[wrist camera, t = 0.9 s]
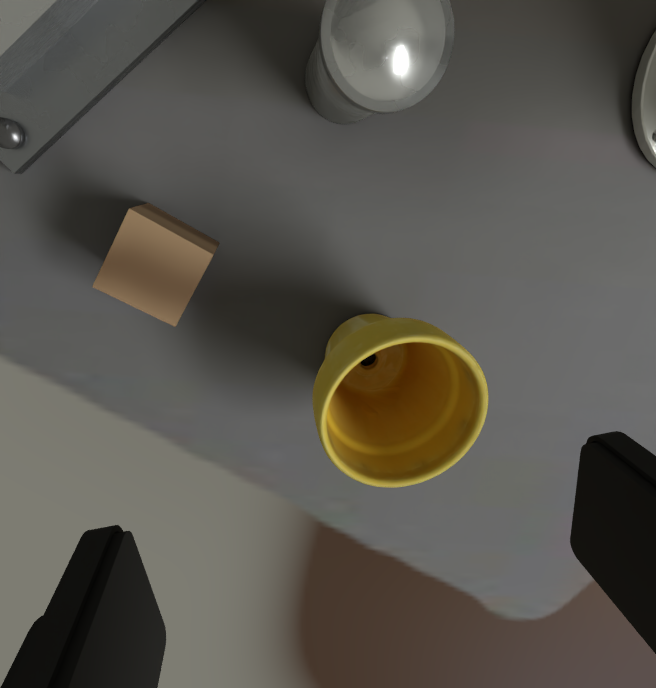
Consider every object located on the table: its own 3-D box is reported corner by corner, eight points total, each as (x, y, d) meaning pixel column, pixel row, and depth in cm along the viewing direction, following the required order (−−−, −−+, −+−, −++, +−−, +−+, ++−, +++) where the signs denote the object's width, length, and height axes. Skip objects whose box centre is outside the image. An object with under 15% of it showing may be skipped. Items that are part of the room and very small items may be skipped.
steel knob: (353, 2, 27) (406, -87, 18) (406, 90, 29) (478, 52, 20) (279, 69, 28) (292, 16, 18) (336, 150, 30) (374, 140, 20)
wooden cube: (148, 202, 29) (129, 208, 24) (219, 242, 31) (213, 254, 26) (116, 269, 30) (92, 286, 26) (186, 304, 32) (175, 326, 27)
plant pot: (400, 425, 38) (446, 503, 29) (283, 396, 35) (294, 473, 26) (451, 312, 35) (519, 361, 26) (327, 272, 32) (356, 310, 23)
